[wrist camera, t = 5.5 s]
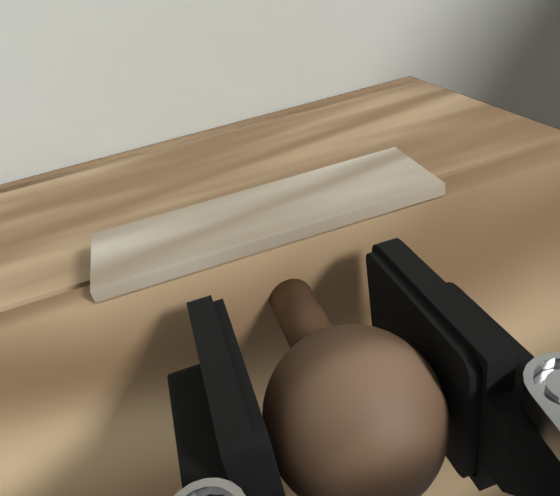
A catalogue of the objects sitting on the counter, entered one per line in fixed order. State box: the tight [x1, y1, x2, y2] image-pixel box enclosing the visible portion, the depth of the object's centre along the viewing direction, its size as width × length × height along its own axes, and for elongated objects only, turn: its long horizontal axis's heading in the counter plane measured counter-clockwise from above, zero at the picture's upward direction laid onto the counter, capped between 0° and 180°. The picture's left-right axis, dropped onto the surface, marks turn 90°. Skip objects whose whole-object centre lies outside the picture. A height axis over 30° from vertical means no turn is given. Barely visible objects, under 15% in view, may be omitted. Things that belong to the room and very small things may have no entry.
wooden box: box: [0, 76, 560, 312], centre depth 21 cm, size 16×18×9 cm
